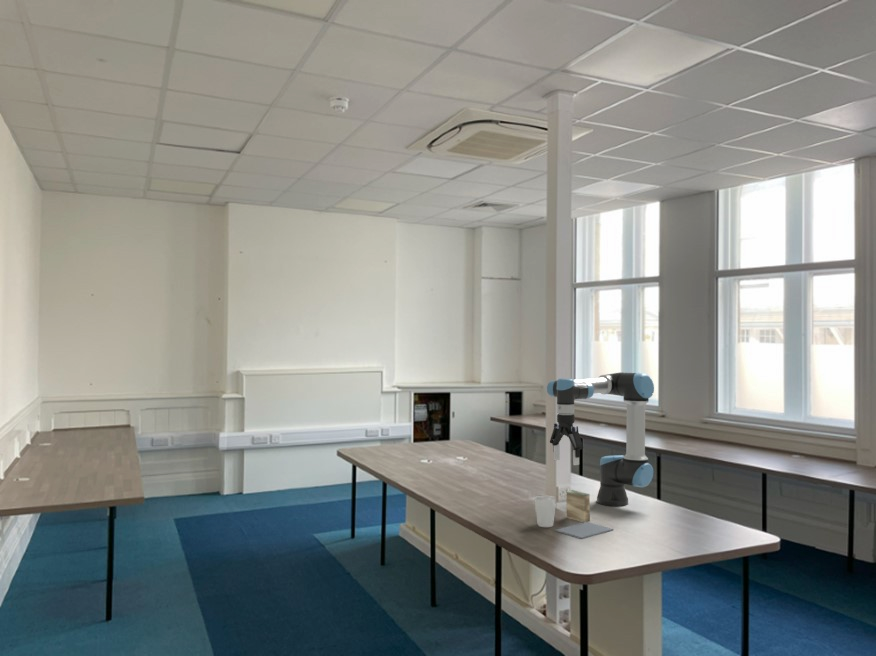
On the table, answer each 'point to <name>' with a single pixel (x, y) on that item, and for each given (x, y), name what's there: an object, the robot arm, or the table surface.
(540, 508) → the white tapered cylinder
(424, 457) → the table surface
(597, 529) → the mat
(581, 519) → the slab
